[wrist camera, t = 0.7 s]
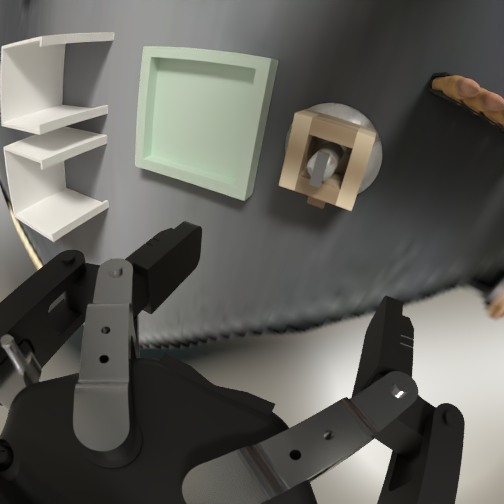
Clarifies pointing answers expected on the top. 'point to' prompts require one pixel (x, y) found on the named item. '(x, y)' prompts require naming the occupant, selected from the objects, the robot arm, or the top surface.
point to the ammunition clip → (469, 97)
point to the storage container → (45, 134)
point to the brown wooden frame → (300, 151)
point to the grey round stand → (340, 148)
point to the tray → (203, 116)
